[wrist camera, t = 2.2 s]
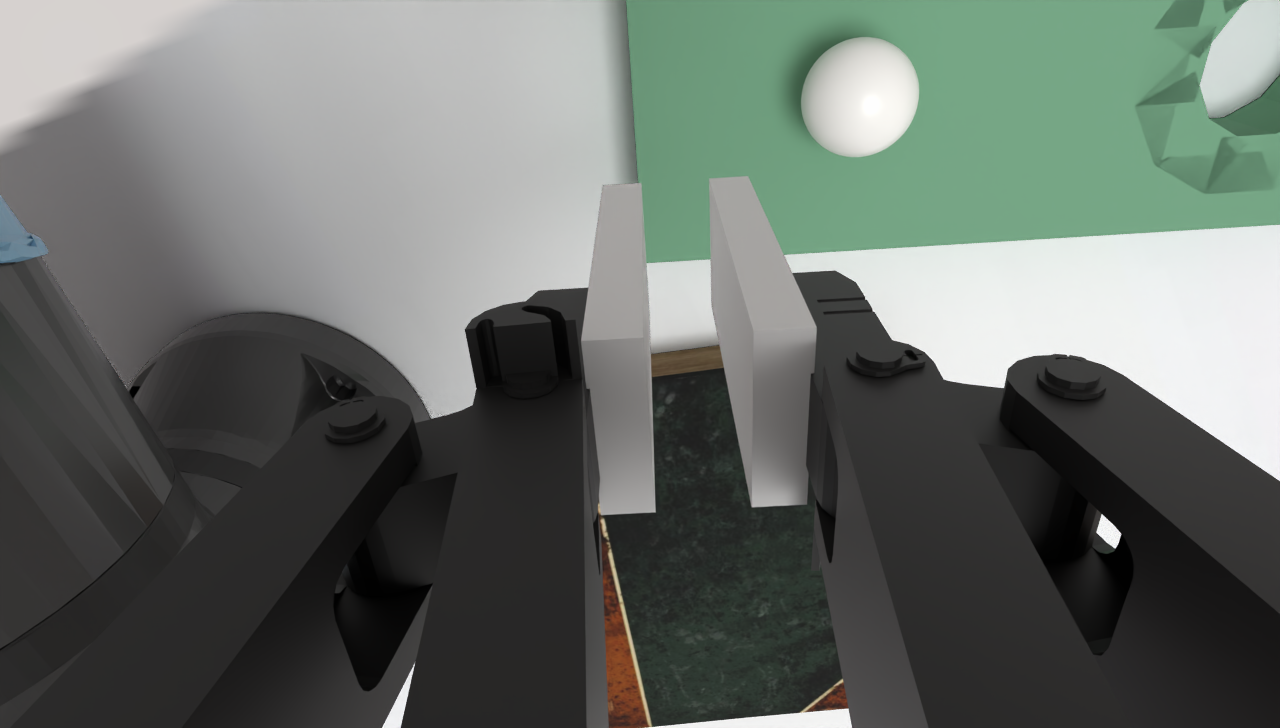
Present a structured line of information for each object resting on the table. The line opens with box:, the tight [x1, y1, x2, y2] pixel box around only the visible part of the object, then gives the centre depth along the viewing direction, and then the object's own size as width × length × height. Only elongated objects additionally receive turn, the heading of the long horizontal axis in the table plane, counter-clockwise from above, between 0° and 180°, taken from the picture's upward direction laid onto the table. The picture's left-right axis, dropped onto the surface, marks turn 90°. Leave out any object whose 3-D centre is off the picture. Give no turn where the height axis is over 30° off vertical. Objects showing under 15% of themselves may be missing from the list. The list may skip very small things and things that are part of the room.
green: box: [626, 0, 1280, 263], centre depth 24 cm, size 32×13×17 cm, turn 94°
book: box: [598, 345, 848, 728], centre depth 42 cm, size 17×4×25 cm
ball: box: [801, 37, 919, 157], centre depth 27 cm, size 4×4×4 cm
